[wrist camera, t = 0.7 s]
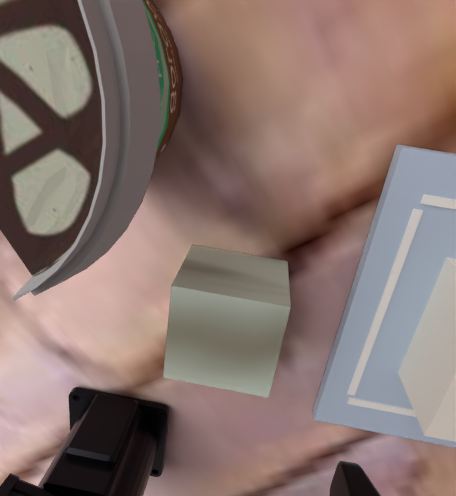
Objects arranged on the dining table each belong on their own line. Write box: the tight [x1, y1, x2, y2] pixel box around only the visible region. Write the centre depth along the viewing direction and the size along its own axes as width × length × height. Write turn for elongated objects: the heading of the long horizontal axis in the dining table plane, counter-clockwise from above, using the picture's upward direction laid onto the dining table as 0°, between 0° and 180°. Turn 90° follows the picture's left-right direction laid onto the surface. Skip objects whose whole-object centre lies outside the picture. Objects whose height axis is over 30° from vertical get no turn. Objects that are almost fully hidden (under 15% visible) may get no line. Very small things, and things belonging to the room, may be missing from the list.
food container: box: [0, 0, 183, 300], centre depth 12 cm, size 12×6×10 cm, turn 25°
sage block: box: [163, 245, 291, 398], centre depth 19 cm, size 5×5×4 cm
